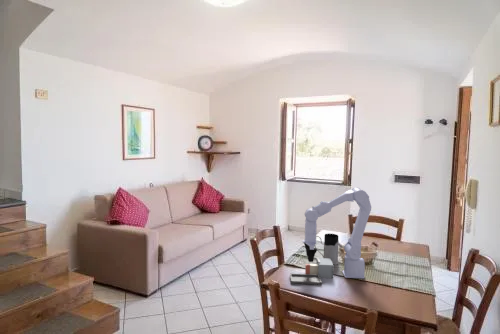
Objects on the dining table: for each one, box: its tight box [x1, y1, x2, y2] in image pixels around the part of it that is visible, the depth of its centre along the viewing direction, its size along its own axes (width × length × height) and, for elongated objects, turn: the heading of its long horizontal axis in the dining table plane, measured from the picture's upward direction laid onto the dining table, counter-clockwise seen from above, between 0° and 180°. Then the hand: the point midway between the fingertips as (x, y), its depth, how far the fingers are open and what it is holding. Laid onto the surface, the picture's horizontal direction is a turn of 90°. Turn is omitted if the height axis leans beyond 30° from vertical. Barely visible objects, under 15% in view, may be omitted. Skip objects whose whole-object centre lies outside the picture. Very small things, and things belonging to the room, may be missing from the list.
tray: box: [289, 272, 323, 286], centre depth 154 cm, size 14×9×2 cm, turn 86°
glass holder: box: [314, 233, 339, 265], centre depth 179 cm, size 9×14×15 cm, turn 71°
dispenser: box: [315, 257, 334, 279], centre depth 162 cm, size 7×9×7 cm
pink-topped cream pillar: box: [304, 263, 318, 275], centre depth 162 cm, size 10×2×4 cm, turn 86°
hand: (309, 258), depth 162 cm, fingers open, 7 cm apart
